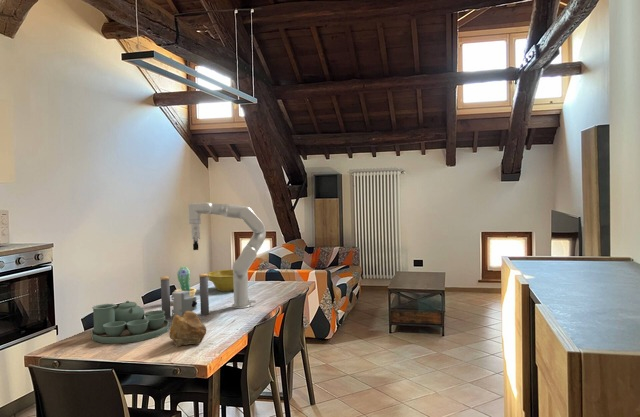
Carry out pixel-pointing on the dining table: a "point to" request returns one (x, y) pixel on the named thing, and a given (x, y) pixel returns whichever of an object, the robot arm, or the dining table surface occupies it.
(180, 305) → the circuit breaker
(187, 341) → the rough brown rock
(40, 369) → the dining table surface
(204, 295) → the post
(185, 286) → the potted cactus
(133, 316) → the tea set
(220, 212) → the robot arm
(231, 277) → the planter bowl
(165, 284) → the post
